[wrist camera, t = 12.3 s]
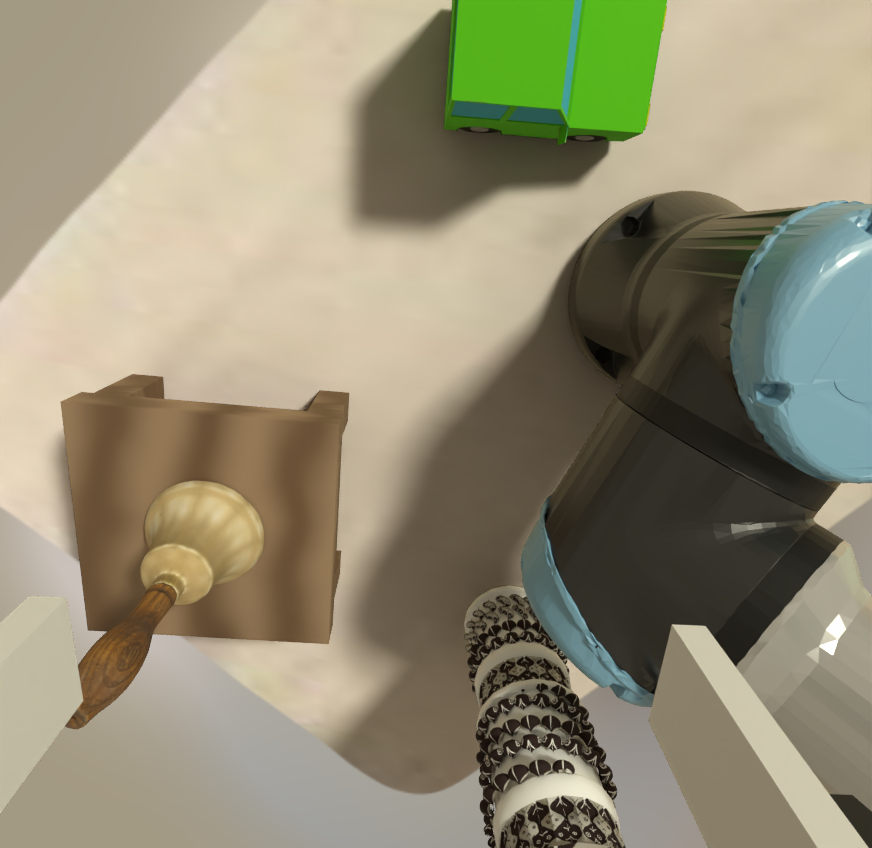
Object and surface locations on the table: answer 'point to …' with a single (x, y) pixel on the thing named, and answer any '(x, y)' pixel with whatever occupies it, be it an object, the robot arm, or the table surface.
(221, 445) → the walnut stool
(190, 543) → the hand bell
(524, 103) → the toy car
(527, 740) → the decorative candle
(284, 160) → the table surface
